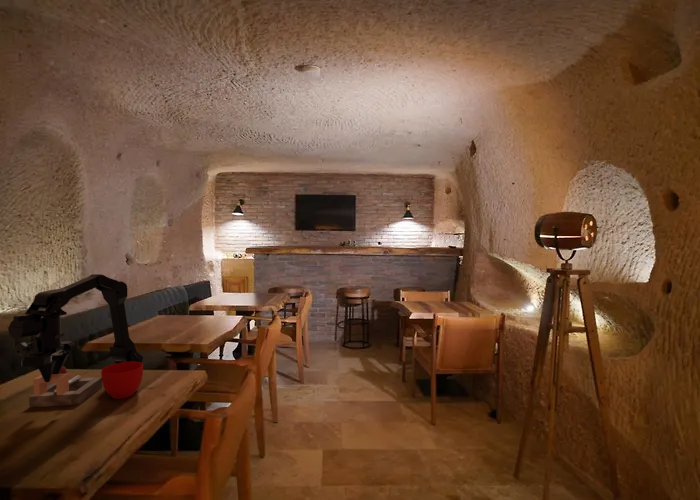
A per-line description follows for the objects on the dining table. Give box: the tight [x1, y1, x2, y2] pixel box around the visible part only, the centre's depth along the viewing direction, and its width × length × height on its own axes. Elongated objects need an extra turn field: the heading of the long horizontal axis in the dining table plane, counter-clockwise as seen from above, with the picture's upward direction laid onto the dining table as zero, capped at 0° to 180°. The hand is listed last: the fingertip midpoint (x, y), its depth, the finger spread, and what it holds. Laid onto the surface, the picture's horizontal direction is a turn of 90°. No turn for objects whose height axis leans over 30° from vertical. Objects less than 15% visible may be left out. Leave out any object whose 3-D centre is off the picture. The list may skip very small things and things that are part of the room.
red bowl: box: [100, 362, 144, 400], centre depth 144 cm, size 13×17×10 cm
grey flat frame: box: [28, 376, 103, 408], centre depth 141 cm, size 15×16×4 cm
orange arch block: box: [33, 372, 70, 396], centre depth 128 cm, size 8×4×6 cm, turn 98°
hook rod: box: [53, 374, 82, 394], centre depth 141 cm, size 2×14×2 cm, turn 8°
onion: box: [52, 365, 68, 374], centre depth 155 cm, size 6×6×8 cm
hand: (51, 379), depth 128 cm, fingers closed on orange arch block, 4 cm apart
